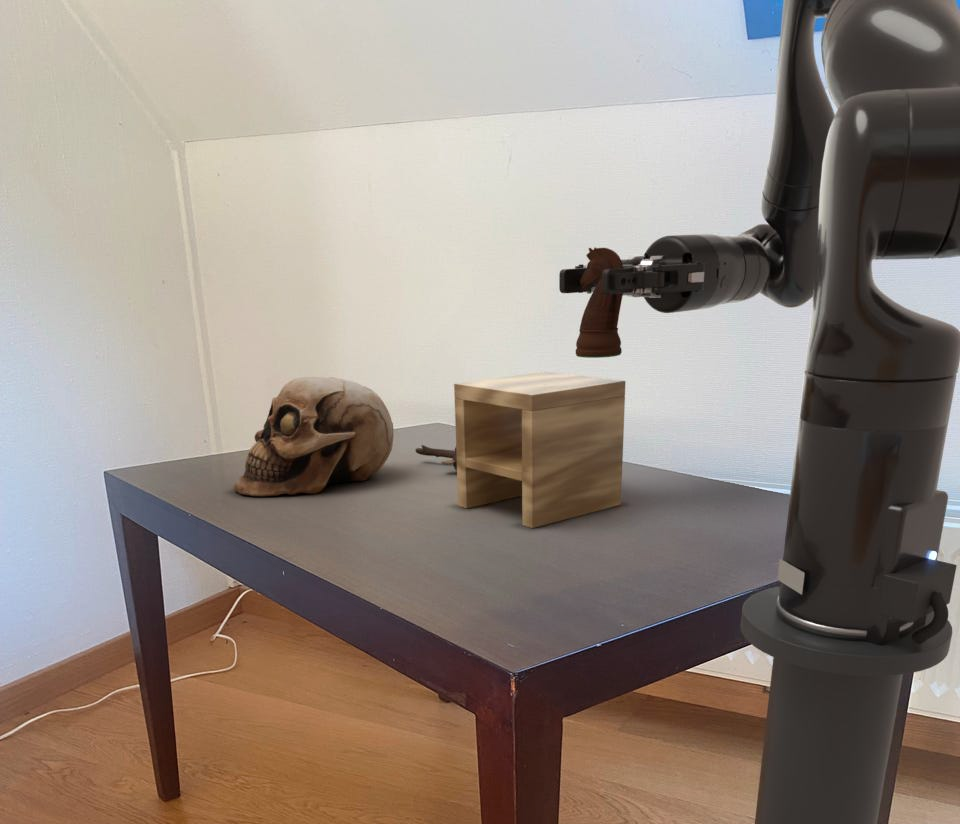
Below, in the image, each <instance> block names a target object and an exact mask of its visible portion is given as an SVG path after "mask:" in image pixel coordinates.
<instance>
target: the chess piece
mask: <svg viewBox="0 0 960 824" xmlns="http://www.w3.org/2000/svg"><path fill="white" fill-rule="evenodd" d="M588 251H589V252H588V253H587V254H586V257H587V259H588V260H589V261H588V262H587V264H586V265H587V268H586V270H585V272H584V274H583V275H582V277H581V279H580V285H581V286H582V288H583V289H584V290H587V289H588V288H589V287H590V286H591V285H592V284H593V283H595V282H597V281H599V282H598V284H597V286H596V288H595V289H594V291H593V292H592V293H591V294H590V296H589V299H588V301H587V304H586V306H585V309H584V311H583V314H582V317H581V320H580V325H579V335H578V337H577V339H576V341H575V342H576V343H575V346H576V349H575V355H576V357H577V358H586V359H587V358H589V359H591V358H593V359H594V358H595V359H597V358H598V359H599V358H614V357H618V356H620V355H621V354H622V353H623V351H622V350H623V349H622V347H621V345H622V341H621V337H620V335H619V327H618V326H619V325H618V324H619V317H620V312H621V306H622V300H623V297H624V295H623V293H621V294H603V292H602V273H603V271H604V270H605V269H617V268H623V264H622V261H621V257H620V255H619V254H618V253H617V252H616V251H614V250H613V249H610V248H607V247H596V246H594V248H592V247H589V248H588Z"/></svg>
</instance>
